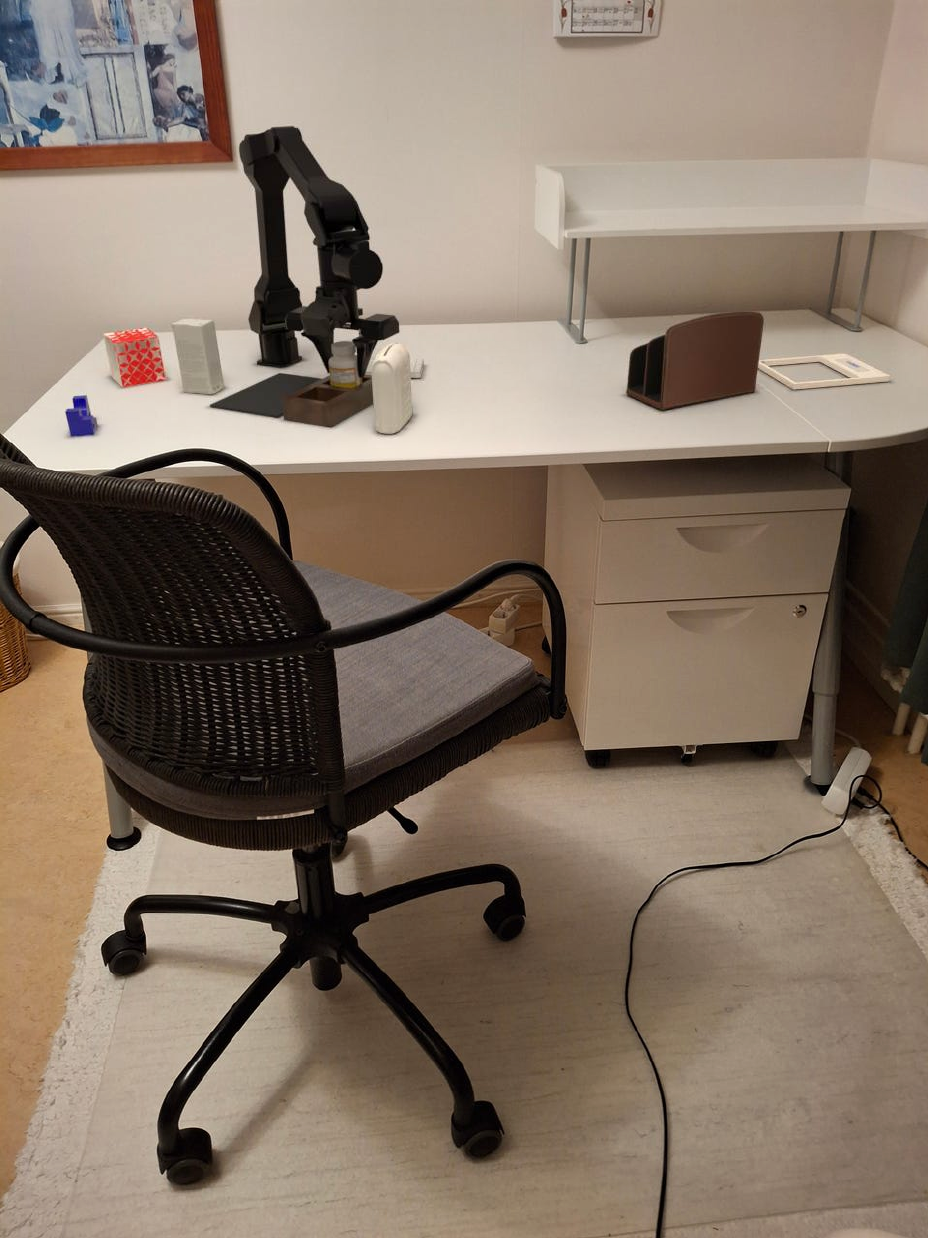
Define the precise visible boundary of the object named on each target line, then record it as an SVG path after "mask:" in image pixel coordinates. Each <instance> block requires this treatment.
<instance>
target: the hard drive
mask: <svg viewBox="0 0 928 1238" xmlns="http://www.w3.org/2000/svg"><path fill="white" fill-rule="evenodd" d="M374 359H375V358H370V361H369V364H368V367H367V370H366V373H365V374H366V375H372V364H373V361H374ZM424 367H425V360H424V358H410V371H411V379H421V378H422V374H423V372H424Z"/></svg>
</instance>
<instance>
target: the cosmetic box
mask: <svg viewBox="0 0 928 1238" xmlns="http://www.w3.org/2000/svg"><path fill="white" fill-rule="evenodd" d="M171 328H172V332H173V337H174V343H175V349H176V354H177V361H178V367H179V373H180V378H181V384H182V390H183V392H184V393H189V394H191V393H192V394H200V395H201V394H202V395H214V394H216V393H218V392H219V391H222V390H224V389H225V383H224V376H223V370H222V363H221V357H220V352H219V343H218V337H217V332H216V331H217V330H216V325H215V321H214V319H199V318H187V317H186V318H183V319H180V320H178V321H176V322H173V323H171Z"/></svg>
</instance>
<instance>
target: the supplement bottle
mask: <svg viewBox="0 0 928 1238" xmlns="http://www.w3.org/2000/svg"><path fill="white" fill-rule="evenodd" d="M331 348H332V354H333V356H332V357H331V358H330V359H329V373H330V374H329V373H328V374H329V375H330V384H331V385H332V386H339V387H346V388H354V387H356V386H358V385H360V384H362V383H363V382H362V378H360V377H359V374H358V366H357V354H356V353H357V350H356V346H355V345H354V343H353V342H352V340H339V341H334V343H333V344H332V345H331Z"/></svg>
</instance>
